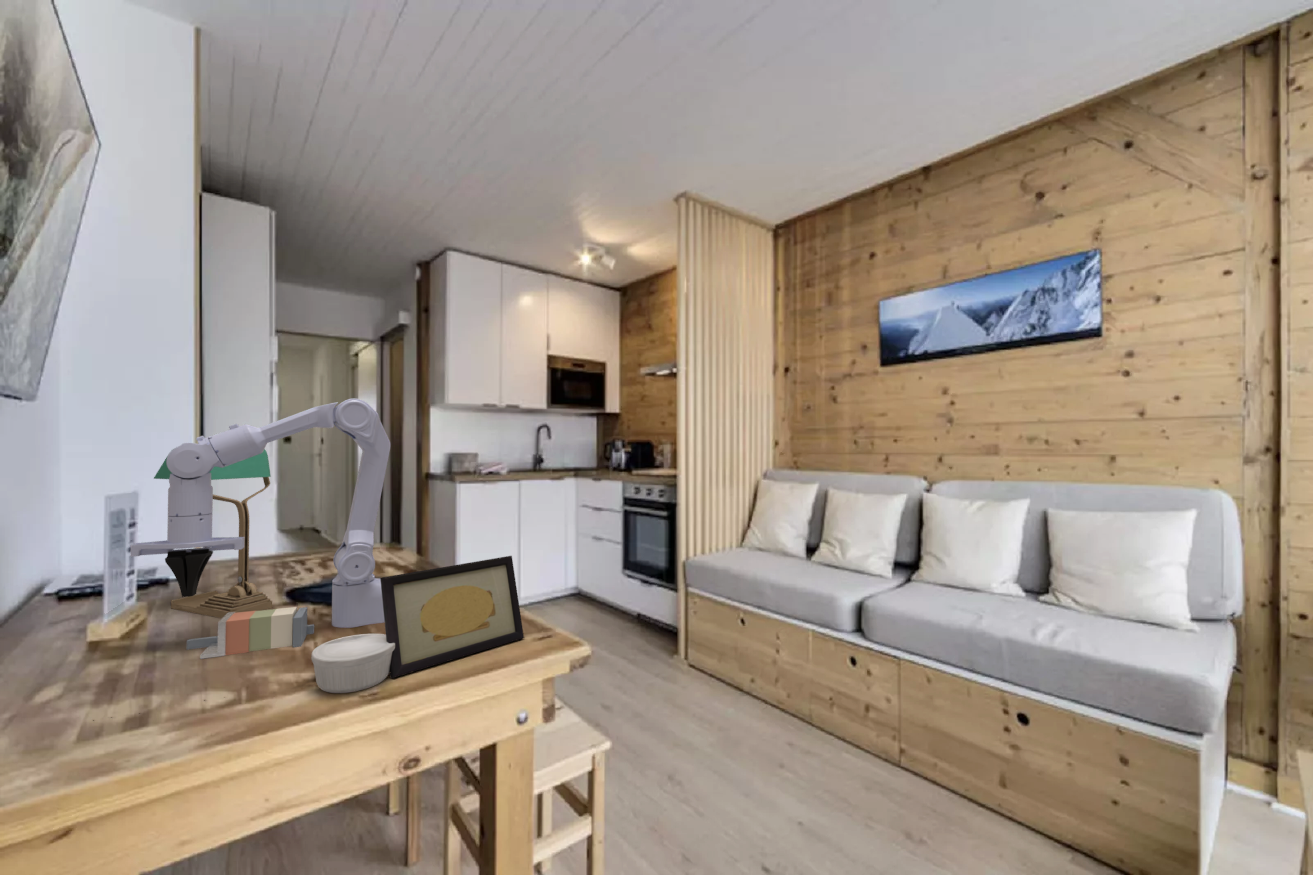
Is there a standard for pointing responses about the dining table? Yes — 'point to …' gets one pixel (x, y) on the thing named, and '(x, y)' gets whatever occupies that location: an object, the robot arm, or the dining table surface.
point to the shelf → (298, 632)
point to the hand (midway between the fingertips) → (189, 595)
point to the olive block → (260, 630)
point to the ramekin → (352, 662)
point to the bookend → (219, 647)
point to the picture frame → (450, 612)
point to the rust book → (238, 633)
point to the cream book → (282, 627)
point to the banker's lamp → (243, 592)
